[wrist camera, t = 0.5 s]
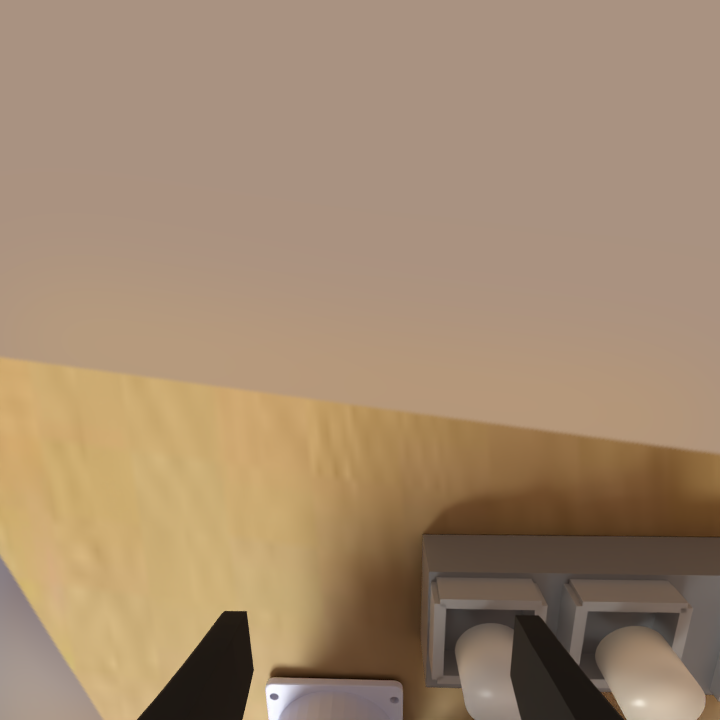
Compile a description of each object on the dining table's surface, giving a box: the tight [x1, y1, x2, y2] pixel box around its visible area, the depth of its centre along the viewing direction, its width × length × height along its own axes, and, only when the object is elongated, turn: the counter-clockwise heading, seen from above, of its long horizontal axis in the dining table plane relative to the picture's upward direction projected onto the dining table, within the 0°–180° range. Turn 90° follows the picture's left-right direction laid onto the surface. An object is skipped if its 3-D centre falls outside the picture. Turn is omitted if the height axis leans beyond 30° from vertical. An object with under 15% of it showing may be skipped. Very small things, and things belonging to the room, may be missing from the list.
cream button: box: [595, 626, 706, 720], centre depth 16 cm, size 3×3×2 cm
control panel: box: [421, 535, 720, 701], centre depth 19 cm, size 7×19×4 cm, turn 91°
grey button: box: [455, 623, 521, 720], centre depth 16 cm, size 3×3×2 cm
